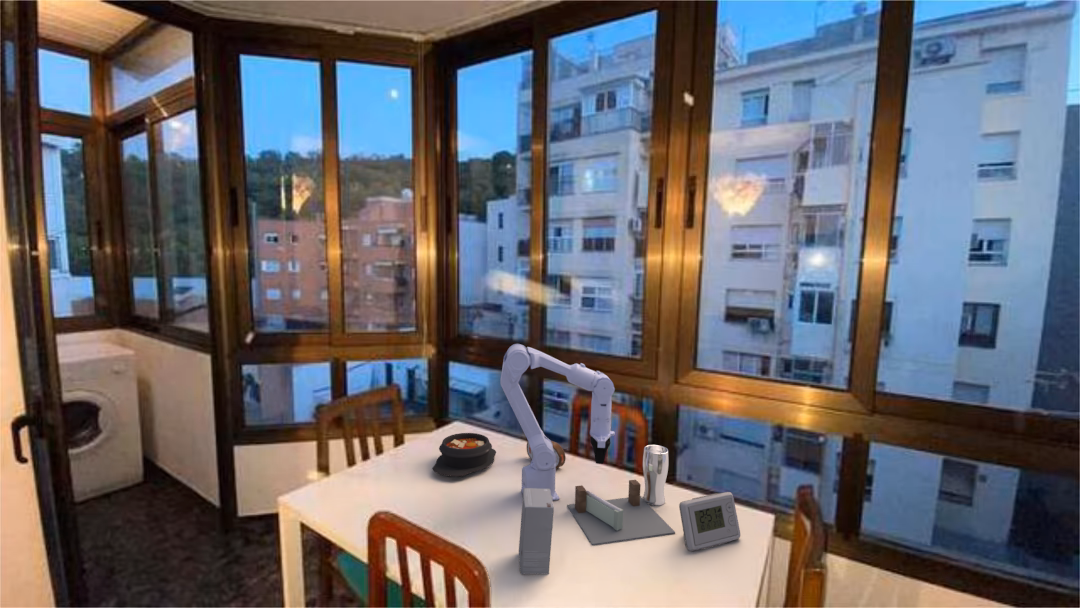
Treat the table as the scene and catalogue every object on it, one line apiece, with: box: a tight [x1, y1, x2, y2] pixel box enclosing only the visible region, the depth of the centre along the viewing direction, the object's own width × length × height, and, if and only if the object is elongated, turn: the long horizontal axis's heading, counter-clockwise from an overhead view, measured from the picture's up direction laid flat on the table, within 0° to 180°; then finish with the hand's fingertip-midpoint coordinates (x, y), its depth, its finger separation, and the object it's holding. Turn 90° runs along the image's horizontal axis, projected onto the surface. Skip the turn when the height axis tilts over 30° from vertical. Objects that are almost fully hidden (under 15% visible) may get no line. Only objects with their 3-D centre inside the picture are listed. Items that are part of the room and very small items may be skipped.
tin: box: [526, 440, 567, 470], centre depth 161 cm, size 15×3×8 cm, turn 49°
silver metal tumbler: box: [642, 444, 669, 507], centre depth 138 cm, size 7×7×15 cm
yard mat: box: [566, 495, 676, 547], centre depth 128 cm, size 22×19×1 cm
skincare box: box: [518, 488, 555, 575], centre depth 108 cm, size 8×7×16 cm
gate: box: [586, 490, 623, 530], centre depth 127 cm, size 12×2×5 cm, turn 37°
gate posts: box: [574, 479, 642, 513], centre depth 134 cm, size 18×3×6 cm, turn 105°
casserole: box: [432, 432, 497, 478], centre depth 159 cm, size 25×19×8 cm
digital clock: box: [678, 491, 741, 552], centre depth 119 cm, size 16×9×11 cm, turn 101°
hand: (599, 462), depth 141 cm, fingers closed
